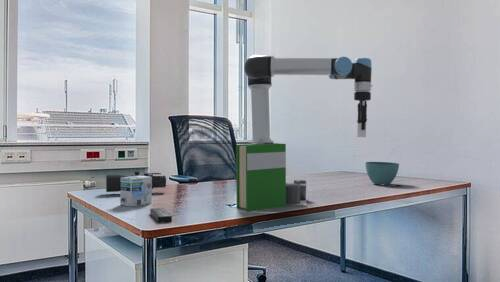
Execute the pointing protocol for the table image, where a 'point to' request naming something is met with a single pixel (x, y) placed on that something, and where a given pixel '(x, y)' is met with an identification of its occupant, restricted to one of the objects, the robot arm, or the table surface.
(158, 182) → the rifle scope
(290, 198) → the grey cylinder
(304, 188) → the lens barrel
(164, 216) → the multiport hub
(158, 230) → the table surface
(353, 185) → the table surface
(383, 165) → the teal bowl
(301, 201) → the mat
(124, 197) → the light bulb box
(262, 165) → the hardback book
